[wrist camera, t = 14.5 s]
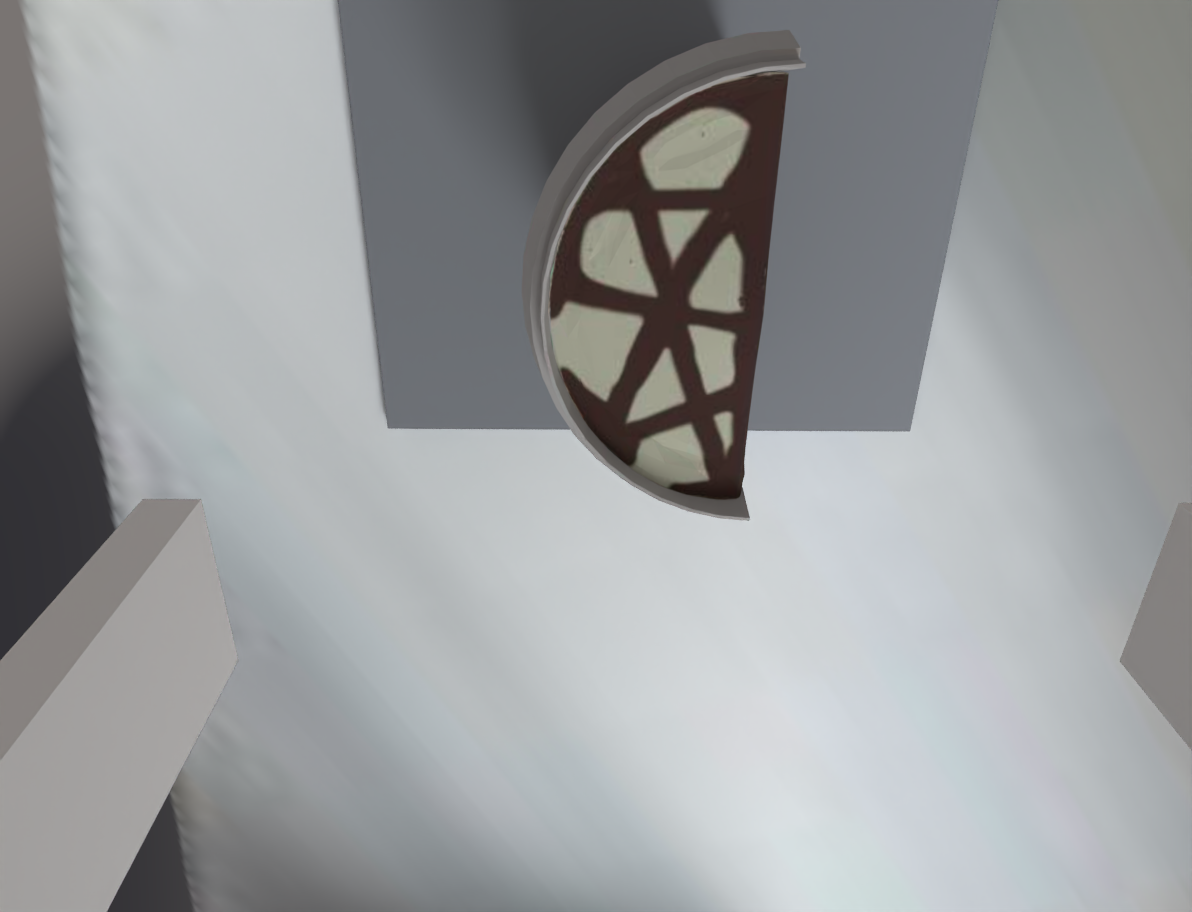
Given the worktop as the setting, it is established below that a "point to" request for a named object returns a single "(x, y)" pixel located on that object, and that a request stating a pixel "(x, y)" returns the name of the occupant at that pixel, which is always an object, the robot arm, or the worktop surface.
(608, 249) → the food container
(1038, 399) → the worktop surface
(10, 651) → the robot arm
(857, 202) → the mat
